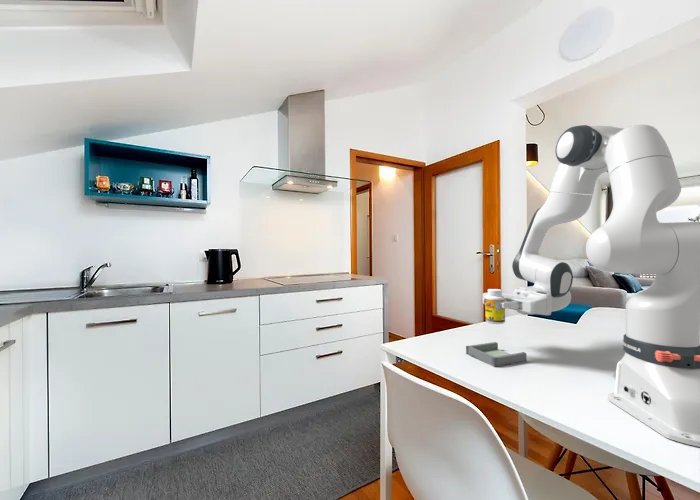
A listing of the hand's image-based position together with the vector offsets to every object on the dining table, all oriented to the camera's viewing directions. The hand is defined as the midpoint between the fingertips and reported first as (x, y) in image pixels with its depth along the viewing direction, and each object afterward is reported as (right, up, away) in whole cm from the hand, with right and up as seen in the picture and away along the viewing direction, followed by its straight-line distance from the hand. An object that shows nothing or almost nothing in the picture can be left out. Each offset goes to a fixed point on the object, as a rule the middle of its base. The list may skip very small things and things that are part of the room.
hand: (492, 303), depth 96 cm
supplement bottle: (+1, -6, 0) cm, 6 cm away
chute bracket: (+1, -17, 0) cm, 17 cm away
